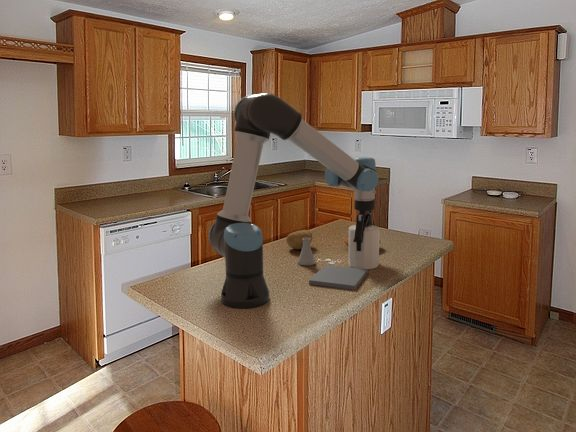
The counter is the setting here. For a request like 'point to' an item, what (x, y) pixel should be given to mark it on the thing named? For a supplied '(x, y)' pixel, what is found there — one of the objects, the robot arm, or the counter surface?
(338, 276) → the slate board
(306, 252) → the flask
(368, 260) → the white cylinder
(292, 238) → the potato
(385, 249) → the counter surface
